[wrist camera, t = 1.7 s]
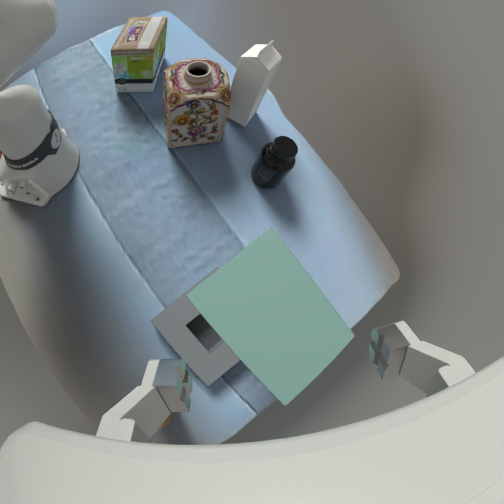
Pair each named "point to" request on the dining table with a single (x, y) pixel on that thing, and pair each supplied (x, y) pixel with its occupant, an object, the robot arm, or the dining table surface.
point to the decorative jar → (195, 102)
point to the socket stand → (257, 320)
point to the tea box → (139, 54)
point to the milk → (252, 81)
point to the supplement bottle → (274, 162)
